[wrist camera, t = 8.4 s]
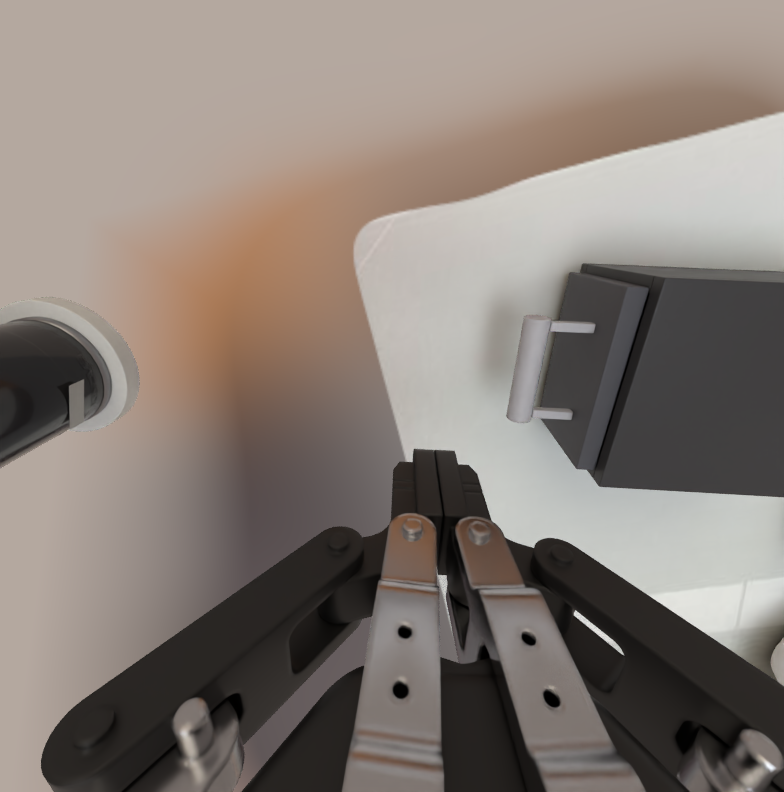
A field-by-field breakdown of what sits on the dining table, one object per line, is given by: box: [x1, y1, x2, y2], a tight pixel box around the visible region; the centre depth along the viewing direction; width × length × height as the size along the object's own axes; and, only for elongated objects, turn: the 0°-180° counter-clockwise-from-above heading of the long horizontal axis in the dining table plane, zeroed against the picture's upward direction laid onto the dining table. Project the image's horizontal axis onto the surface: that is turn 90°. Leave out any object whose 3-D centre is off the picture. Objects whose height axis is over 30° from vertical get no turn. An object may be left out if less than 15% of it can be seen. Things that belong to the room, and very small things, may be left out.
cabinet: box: [581, 263, 784, 497], centre depth 25 cm, size 15×13×10 cm
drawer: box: [506, 273, 650, 470], centre depth 26 cm, size 18×12×8 cm, turn 88°
